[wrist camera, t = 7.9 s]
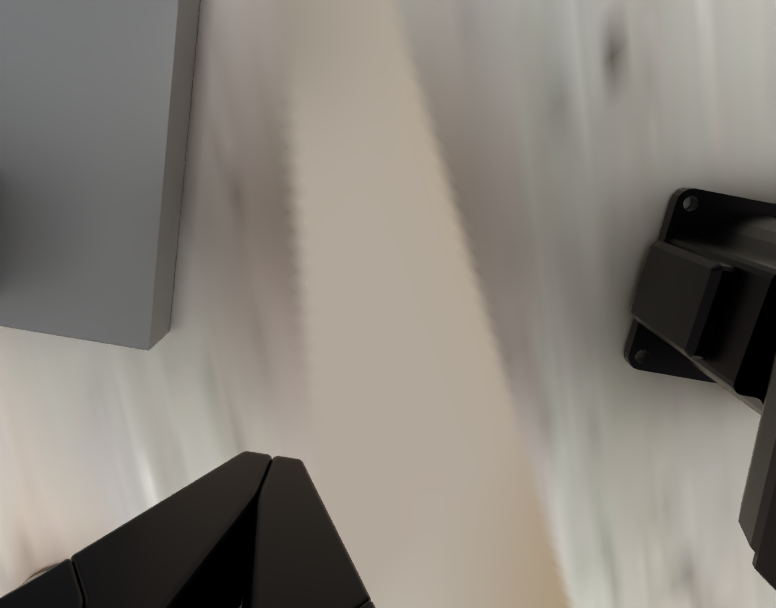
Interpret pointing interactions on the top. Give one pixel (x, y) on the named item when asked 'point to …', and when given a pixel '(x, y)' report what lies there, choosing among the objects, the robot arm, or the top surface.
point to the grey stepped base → (93, 164)
